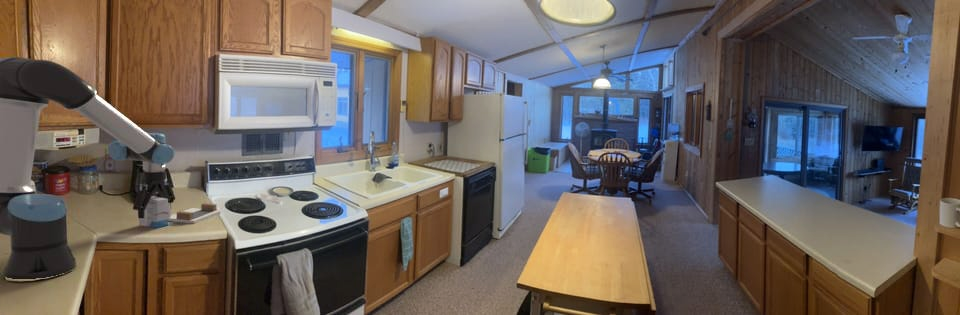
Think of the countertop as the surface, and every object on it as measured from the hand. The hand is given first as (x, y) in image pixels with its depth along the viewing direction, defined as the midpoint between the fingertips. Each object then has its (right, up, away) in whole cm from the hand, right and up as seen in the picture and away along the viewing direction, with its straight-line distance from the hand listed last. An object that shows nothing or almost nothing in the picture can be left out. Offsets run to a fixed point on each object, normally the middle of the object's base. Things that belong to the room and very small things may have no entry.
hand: (155, 221), depth 174 cm
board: (+6, 0, +15) cm, 16 cm away
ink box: (0, -2, 0) cm, 2 cm away
